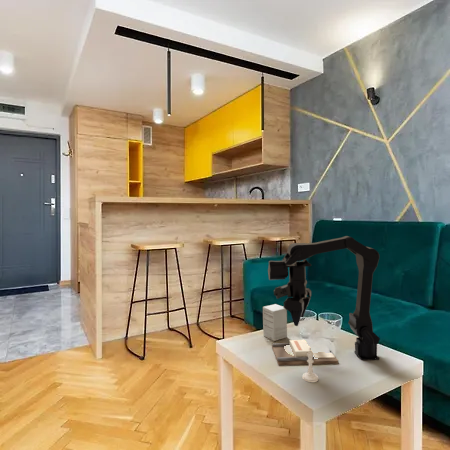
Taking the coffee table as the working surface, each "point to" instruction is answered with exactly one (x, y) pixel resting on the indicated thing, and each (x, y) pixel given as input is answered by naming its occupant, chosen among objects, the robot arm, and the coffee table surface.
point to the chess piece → (310, 370)
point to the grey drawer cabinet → (274, 322)
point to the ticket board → (288, 359)
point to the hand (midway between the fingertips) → (299, 321)
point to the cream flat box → (300, 348)
